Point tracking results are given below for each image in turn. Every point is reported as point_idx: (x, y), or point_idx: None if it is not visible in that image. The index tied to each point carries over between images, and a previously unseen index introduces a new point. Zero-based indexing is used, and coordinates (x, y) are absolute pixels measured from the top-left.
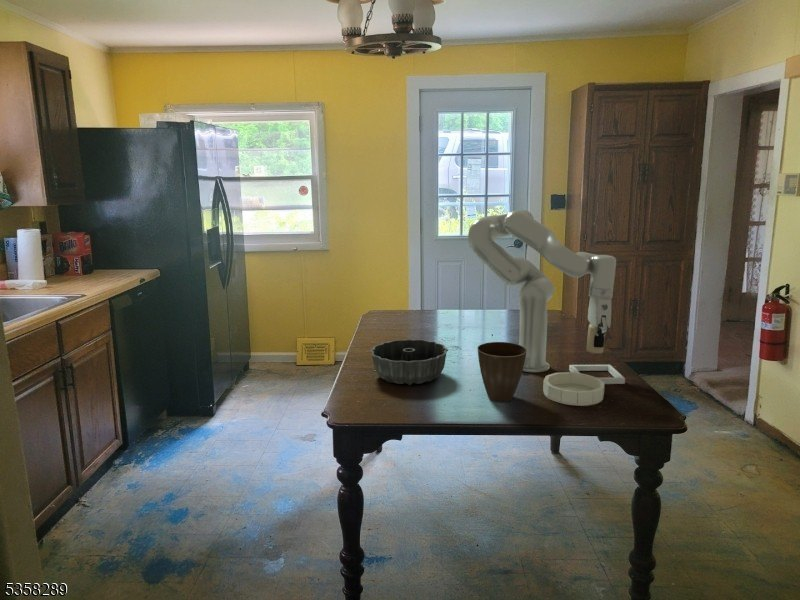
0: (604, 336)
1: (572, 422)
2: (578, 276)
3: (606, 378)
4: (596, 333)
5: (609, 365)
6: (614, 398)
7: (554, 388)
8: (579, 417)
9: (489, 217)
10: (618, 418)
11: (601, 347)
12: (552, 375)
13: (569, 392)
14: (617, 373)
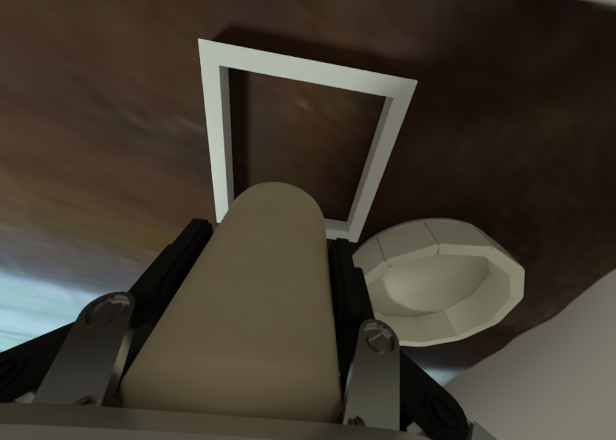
0: (363, 308)
1: (530, 321)
2: None
3: (382, 167)
4: (344, 380)
5: (214, 51)
6: (499, 199)
7: (439, 342)
8: (523, 307)
9: None
10: (600, 252)
11: (325, 233)
12: None
13: (477, 329)
14: (341, 79)
